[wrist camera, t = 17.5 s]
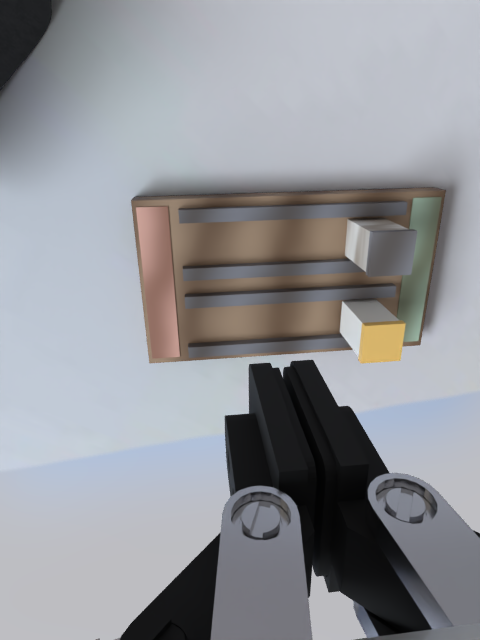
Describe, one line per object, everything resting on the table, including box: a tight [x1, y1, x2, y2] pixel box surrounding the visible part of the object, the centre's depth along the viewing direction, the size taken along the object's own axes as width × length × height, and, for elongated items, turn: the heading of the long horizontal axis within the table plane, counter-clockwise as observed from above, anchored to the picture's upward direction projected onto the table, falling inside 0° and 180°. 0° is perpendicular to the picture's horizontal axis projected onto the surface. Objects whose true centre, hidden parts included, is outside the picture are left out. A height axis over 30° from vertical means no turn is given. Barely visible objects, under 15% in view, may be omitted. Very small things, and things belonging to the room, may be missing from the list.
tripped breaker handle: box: [340, 299, 406, 363], centre depth 36 cm, size 3×3×6 cm
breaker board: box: [131, 187, 446, 363], centre depth 35 cm, size 25×14×8 cm, turn 91°
